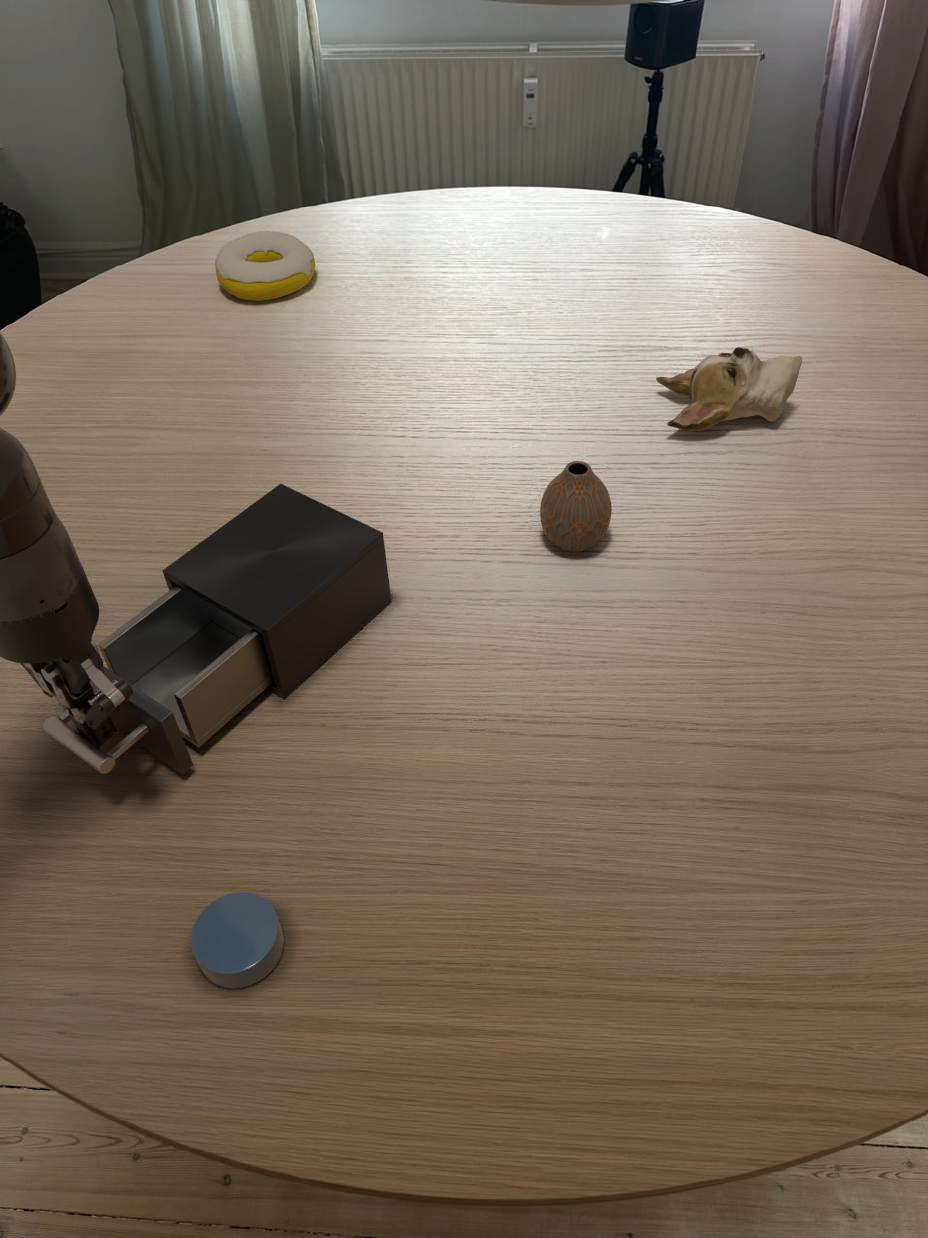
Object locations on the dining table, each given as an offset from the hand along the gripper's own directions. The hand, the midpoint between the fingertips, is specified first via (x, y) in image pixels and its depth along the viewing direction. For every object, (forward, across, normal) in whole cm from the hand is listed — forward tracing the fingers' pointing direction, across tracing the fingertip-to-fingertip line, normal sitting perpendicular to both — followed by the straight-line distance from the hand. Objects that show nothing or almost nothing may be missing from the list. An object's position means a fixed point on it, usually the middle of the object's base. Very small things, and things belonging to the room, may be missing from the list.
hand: (100, 737), depth 77 cm
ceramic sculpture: (+4, +18, +73) cm, 75 cm away
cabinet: (+4, 0, +21) cm, 21 cm away
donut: (+4, -49, +68) cm, 84 cm away
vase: (+4, +16, +45) cm, 48 cm away
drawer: (+3, 0, +7) cm, 7 cm away
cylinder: (+4, +20, -5) cm, 21 cm away
